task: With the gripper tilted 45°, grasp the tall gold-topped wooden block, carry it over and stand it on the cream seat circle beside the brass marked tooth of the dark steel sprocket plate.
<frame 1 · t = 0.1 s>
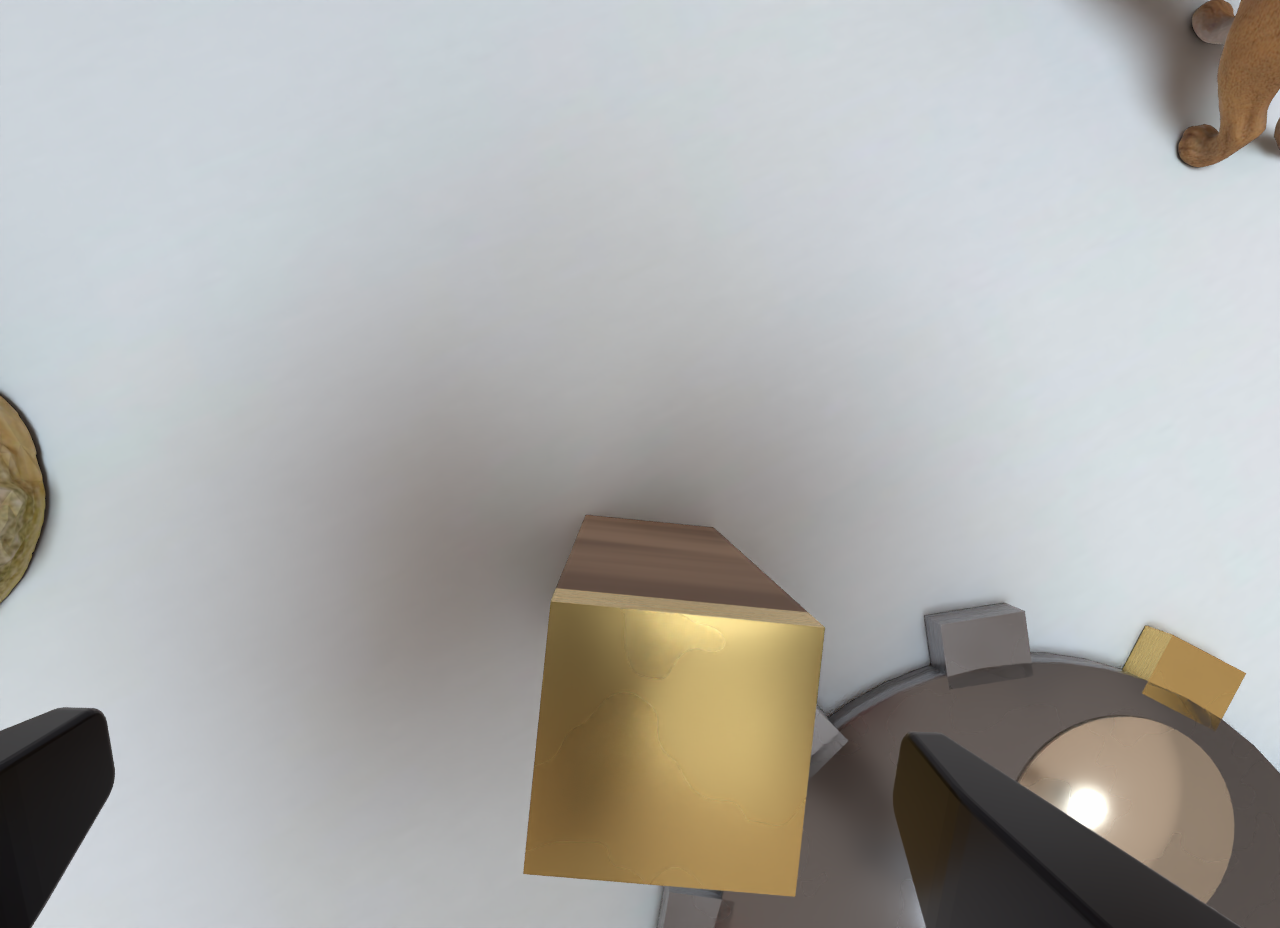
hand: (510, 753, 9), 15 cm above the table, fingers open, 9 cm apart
lion figurine: (1092, 0, 24), on the table
gold-topped wooden block: (643, 584, 24), on the table
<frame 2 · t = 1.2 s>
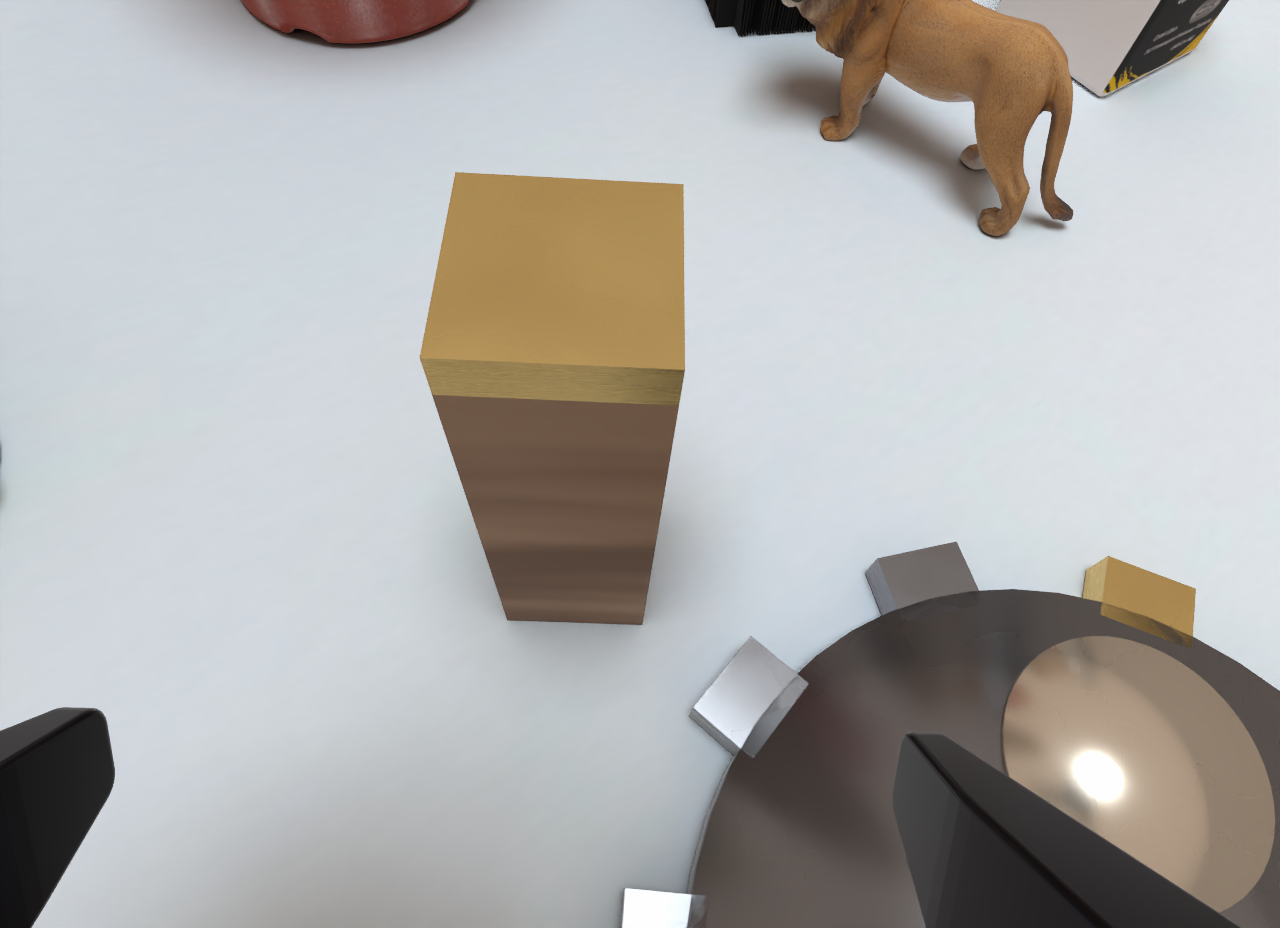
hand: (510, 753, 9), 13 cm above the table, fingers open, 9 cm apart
lion figurine: (888, 155, 34), on the table
medicine bottle: (1088, 41, 39), on the table
gold-topped wooden block: (578, 559, 24), on the table
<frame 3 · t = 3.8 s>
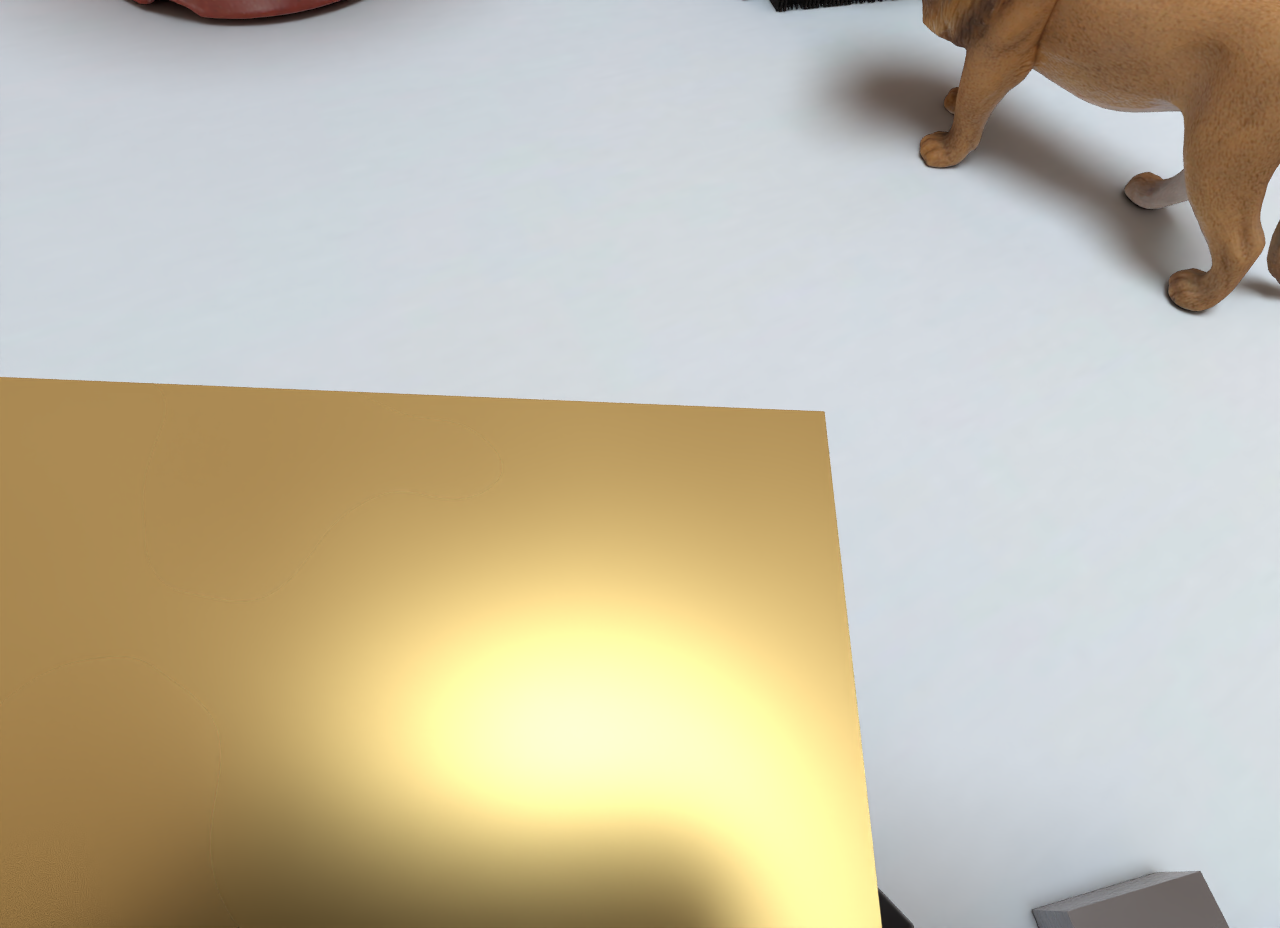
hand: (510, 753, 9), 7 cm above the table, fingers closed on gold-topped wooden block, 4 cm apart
lion figurine: (1018, 188, 24), on the table
gold-topped wooden block: (538, 891, 14), on the table, touching gripper
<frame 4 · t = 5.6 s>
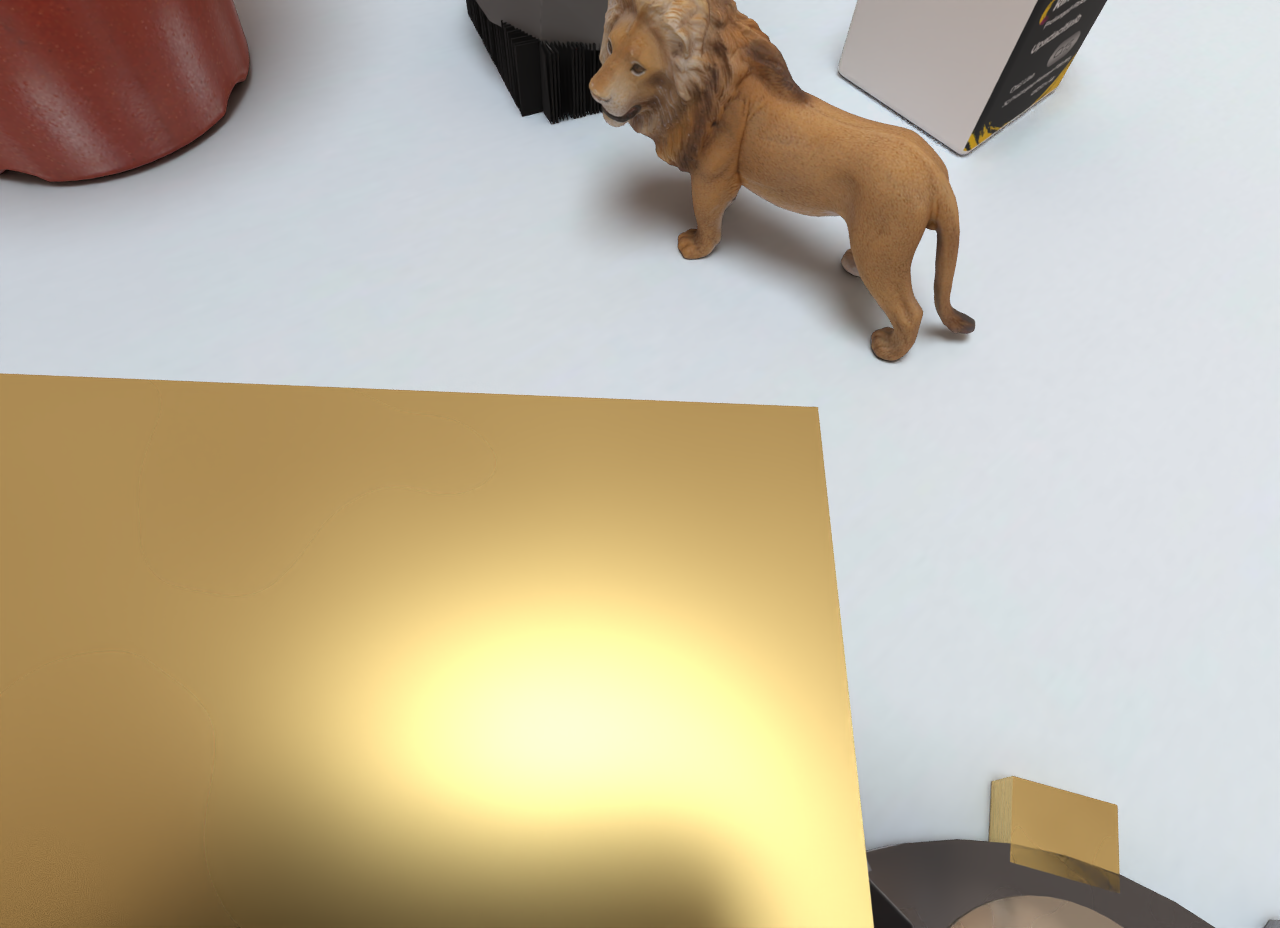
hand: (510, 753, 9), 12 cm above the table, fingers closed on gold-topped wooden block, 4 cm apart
lion figurine: (760, 268, 29), on the table
cpu cooler: (591, 49, 35), on the table
flower pot: (99, 87, 32), on the table
medicine bottle: (943, 86, 35), on the table
gold-topped wooden block: (537, 890, 14), point 6 cm above the table, touching gripper
when the fingers open (9 cm above the table, at t = 7.7 s): gold-topped wooden block drops 1 cm, resting on sprocket plate.
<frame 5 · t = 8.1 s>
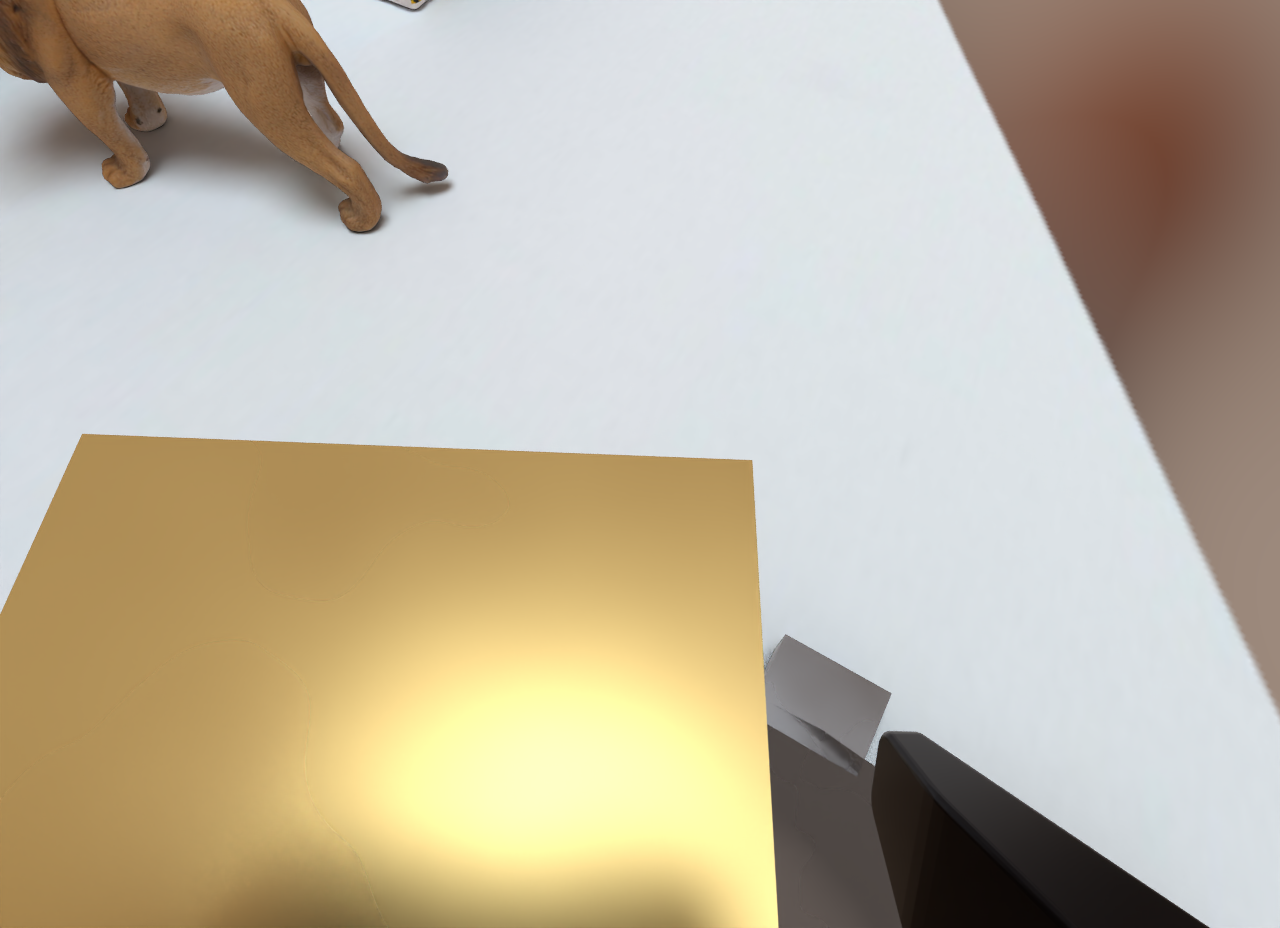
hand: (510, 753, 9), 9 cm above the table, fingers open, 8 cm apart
lion figurine: (214, 177, 26), on the table
gold-topped wooden block: (543, 890, 15), point 1 cm above the table, touching sprocket plate
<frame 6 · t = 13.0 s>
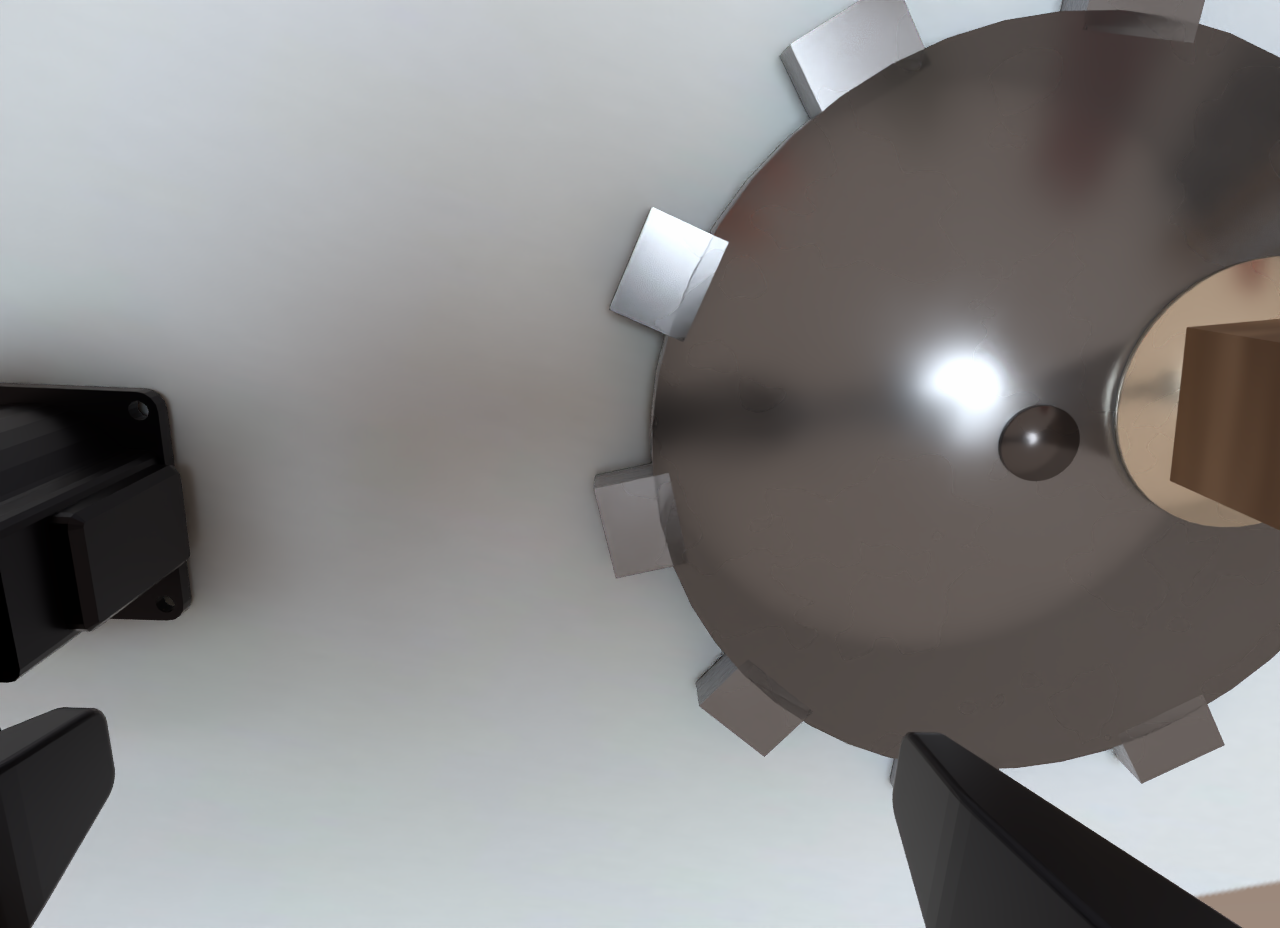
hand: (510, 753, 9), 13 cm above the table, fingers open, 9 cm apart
sprocket plate: (1014, 431, 21), on the table
gold-topped wooden block: (1256, 399, 20), point 1 cm above the table, touching sprocket plate
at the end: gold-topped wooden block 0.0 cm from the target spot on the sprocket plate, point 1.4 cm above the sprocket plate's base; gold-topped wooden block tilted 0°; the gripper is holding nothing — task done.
